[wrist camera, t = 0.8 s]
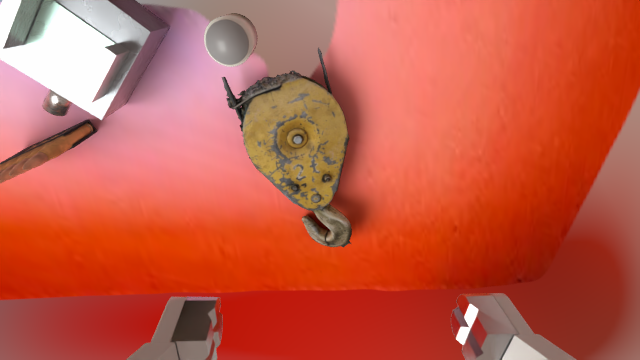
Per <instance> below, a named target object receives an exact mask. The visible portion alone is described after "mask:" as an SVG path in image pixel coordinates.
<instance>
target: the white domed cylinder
mask: <svg viewBox="0 0 640 360" xmlns="http://www.w3.org/2000/svg"><path fill="white" fill-rule="evenodd" d="M204 43H205V47H206V49H207V52H208V53H209V55H210V56H211V57H212V58H213V59H214V60H215V61H216V62H217V63H219V64H221V65H224V66H228V67H234V66H238V65H240V64H242V63H244V62H245V61H246V60H247V59H248V57H249V56H250V55H251V53H252V52H253V51H254V49H255V47H256V44H257V33H256V29H255V27H254V26H253V24H252V22H251V21H250V20H249V19H248V18H246V17H245V16H243V15H240V14H236V13H232V14H228V15H224V16H221V17H218V18H215V19H214V20H212V21H211V22H210V23H209V24H208V26H207V28H206V30H205V34H204Z"/></svg>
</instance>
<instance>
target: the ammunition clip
mask: <svg viewBox="0 0 640 360" xmlns="http://www.w3.org/2000/svg"><path fill="white" fill-rule="evenodd" d="M96 132H97V130H96V129H95V127H94V126H93V125H92V124H91V122H90V121H89V120H85V121H83V122H81V123H79V124H77V125H75V126H73V127H71V128H68V129H66V130H64V131H62V132H60V133H58V134H56V135H53V136H51V137H49V138H47V139H45V140H43V141H41V142H39V143H36V144H34V145H32V146H30V147H28V148H26V149H24V150H22V151H20V152H19V153H17V154H15V155H13V156H12V157H10V158H8V159H6V160H5V161H3V162H1V163H0V183H2V182H4V181H6V180H9V179H11V178H13V177H15V176H17V175H19V174H22V173H24V172H26V171H29V170H30V169H32V168H35V167H38V166H40V165H42V164H43V163H45V162H47V161H49V160H50V159H53V158H55V157H58V156H59V155H61V154H62V153H64V152H65V151H67V150H69V149H71V148H74V147H75V146H77V145H78V144H80V143H81V142H83V141H84V140H86V139H87V138H89V137H90V136H91V135H93V134H94V133H96Z"/></svg>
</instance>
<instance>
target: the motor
mask: <svg viewBox="0 0 640 360" xmlns="http://www.w3.org/2000/svg"><path fill="white" fill-rule="evenodd" d="M169 28H170V26H168V25H167V24H166V23H165V22H163V21H162V20H161V19H159V18H158V17H157V16H155V15H154V14H153V13H151V12H150V11H149V10H147V9H146V8H145V7H143V6H142V5H141V4H139V3H138V2H137V1H135V0H3V1H2V4H1V6H0V59H1V60H3V61H4V62H6V63H8V64H9V65H11V66H13V67H14V68H16V69H18V70H19V71H21V72H23V73H24V74H26V75H27V76H29V77H31V78H32V79H34V80H36V81H37V82H39V83H41V84H42V85H44V86H46V87H47V88H49V89H50V90H49V92H48V94H47V96H46V98H45V100H44V103H43V105H42V106H43V108H44V109H45V110H46V111H47V112H49V113H51V114H53V115H57V116H65V115H66V114H67V112H68V110H69V108H70V106H71V104H72V103H74V104H76V105H77V106H79V107H81V108H82V109H84V110H86V111H87V112H89V113H91V114H92V115H94V116H96V117H97V118H99V119H100V120H103V119H104V118H106V117H107V116H109V115H110V114H112V113H113V112H115V111H116V110H118V109H119V108H121V107H122V106H124V105H125V104H126V102H127V101H128V99H129V97H130V96H131V94H132V92H133V90H134V89H135V87H136V85H137V83H138V82H139V80H140V78H141V76H142V75H143V73H144V71H145V70H146V68H147V66H148V64H149V63H150V61H151V59H152V57H153V56H154V54H155V52H156V50H157V49H158V47H159V45H160V44H161V42H162V40H163V38H164V37H165V35H166V33H167V31H168V30H169Z"/></svg>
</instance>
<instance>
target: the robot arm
mask: <svg viewBox="0 0 640 360" xmlns="http://www.w3.org/2000/svg"><path fill="white" fill-rule="evenodd" d="M456 302H457V304H458V307H457V308H456V309H454V310H453V312H452V315H451V327H452V331H453V333H454V336H455V338H456V339H457V340H458V341H459V342H460V343H462V344H463V348H462V353H463V355H464V357H465V359H466V360H576V359H575V358H573V357H572V356H570V355H569V354H567V353H566V352H564V351H563V350H561V349H560V348H558V347H557V346H555V345H554V344H552V343H551V342H549V341H548V340H546V339H545V338H543V337H542V336H541V335H539V334H534V333H533V332H532V330H531V329H530V328H529V326H528V325H527V323H526V322H525V320H524V319H523V318H522V316H521V315H520V313H519V312H518V311H517V309H516V308H515V306H514V305H513V304H512V302H511V301H510V299H509V298H508V297H507V296H506V295H505V294H503V293H499V294H487V293H486V294H461V295H459V296H458V299H457V301H456ZM220 306H221V303H220V298H219V297H171V298H170V299H169V301H168V302H167V305H166V307H165V309H164V312H163V315H162V317H161V319H160V322H159V324H158V326H157V329H156V331H155V333H154V336H153V338H152V341H151V343H145V344H144V345H143V346H142V347H140V348H139V349H138V350H137V351H136V352H135V353H133V354H132V355H131V356H130V357H129V358H128V359H126V360H217V354H216V348H217V347H218V346H219V345H220V341H221V336H222V327H223V320H222V314H221V313H220V312H219V311H220Z"/></svg>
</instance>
